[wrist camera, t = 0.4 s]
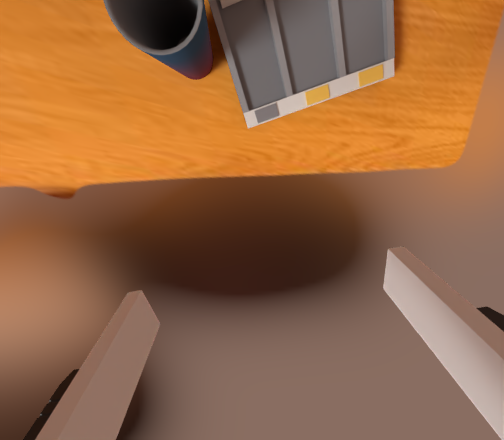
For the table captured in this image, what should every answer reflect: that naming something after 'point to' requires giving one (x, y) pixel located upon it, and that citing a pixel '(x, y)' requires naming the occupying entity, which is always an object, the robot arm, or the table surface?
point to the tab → (228, 2)
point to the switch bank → (303, 51)
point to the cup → (167, 32)
